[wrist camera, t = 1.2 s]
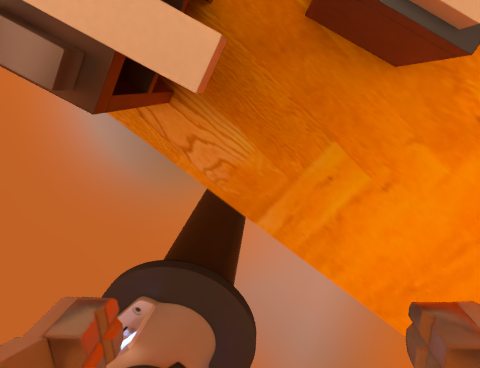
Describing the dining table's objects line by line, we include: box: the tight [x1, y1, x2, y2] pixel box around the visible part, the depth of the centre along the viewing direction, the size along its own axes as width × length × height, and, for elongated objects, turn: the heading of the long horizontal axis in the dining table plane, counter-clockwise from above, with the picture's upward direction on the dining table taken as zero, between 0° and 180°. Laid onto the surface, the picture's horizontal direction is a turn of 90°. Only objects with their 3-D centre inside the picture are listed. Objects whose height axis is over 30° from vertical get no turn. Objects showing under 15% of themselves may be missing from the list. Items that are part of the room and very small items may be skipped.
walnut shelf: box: [0, 0, 213, 114], centre depth 30 cm, size 13×15×22 cm
